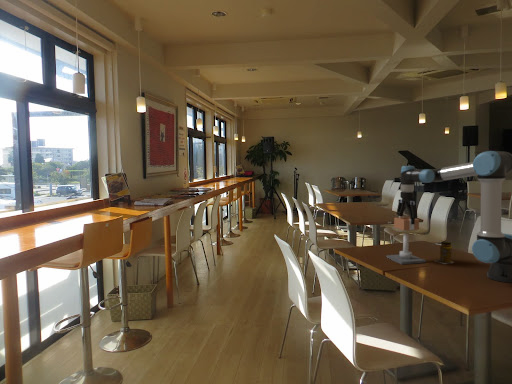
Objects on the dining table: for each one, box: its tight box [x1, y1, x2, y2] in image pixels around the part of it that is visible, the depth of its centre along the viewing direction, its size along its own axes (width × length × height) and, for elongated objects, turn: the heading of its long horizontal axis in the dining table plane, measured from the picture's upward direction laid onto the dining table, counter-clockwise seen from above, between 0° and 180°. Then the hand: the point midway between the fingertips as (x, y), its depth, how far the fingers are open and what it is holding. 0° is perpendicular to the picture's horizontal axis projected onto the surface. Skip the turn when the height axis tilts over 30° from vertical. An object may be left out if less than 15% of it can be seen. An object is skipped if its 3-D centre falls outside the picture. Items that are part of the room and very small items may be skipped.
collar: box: [393, 216, 420, 231], centre depth 226 cm, size 10×10×6 cm
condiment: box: [435, 240, 455, 265], centre depth 223 cm, size 7×8×12 cm
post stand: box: [385, 233, 427, 265], centre depth 227 cm, size 16×16×16 cm
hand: (406, 228), depth 226 cm, fingers closed on collar, 10 cm apart
